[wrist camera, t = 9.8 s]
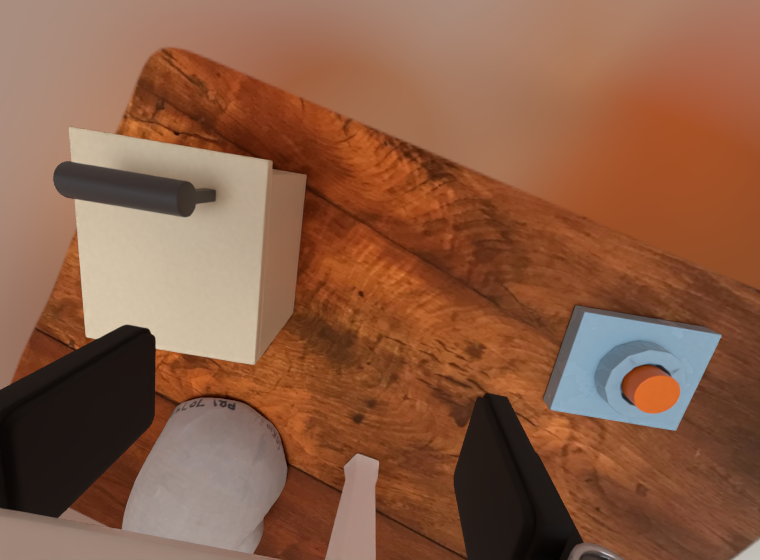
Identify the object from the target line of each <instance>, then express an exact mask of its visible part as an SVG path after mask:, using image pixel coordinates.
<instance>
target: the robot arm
mask: <svg viewBox="0 0 760 560" xmlns="http://www.w3.org/2000/svg"><path fill="white" fill-rule="evenodd" d="M155 352H156V339H155V336H154V335H153V334H151V332H150V330H149V329H148V328H143V327H138V326H133V325H127V324H126V325H123V326H121V327H119V328H117V329H115V330H113V331H111V332H109V333H108V334H106V335H104V336H102V337H100V338H98V339H96V340H94V341H92V342H90V343H89V344H87V345H85V346H83V347H81V348H79V349H77V350H75V351H73V352H71V353H70V354H68V355H66V356H64V357H62V358H60V359H58V360H56V361H54V362H52V363H51V364H49V365H47V366H45V367H43V368H41V369H39V370H37V371H35V372H33V373H32V374H30V375H28V376H26V377H24V378H22V379H20V380H18V381H16V382H14V383H12V384H11V385H9V386H7V387H5V388H3V389H1V390H0V560H281V559H276V558H270V557H265V556H260V555H255V554H249V553H244V552H239V551H233V550H228V549H223V548H217V547H212V546H207V545H201V544H196V543H191V542H185V541H180V540H174V539H169V538H164V537H158V536H153V535H148V534H142V533H137V532H131V531H126V530H120V529H115V528H109V527H104V526H98V525H92V524H87V523H81V522H76V521H70V520H65V519H59V518H58V517H59V516H60V515H61V514H62V513H63V512H64V511H66V510H67V509H68V508H69V507H70V506H71V505H72V504H73V503H74V502H75V501H76V500H77V499H78V498H79V497H80V496H81V495H82V494H83V493H84V492H85V491H86V490H87V489H88V488H89V487H90V486H91V485H92V484H93V483H94V482H95V481H96V480H97V479H98V478H99V477H100V476H101V475H102V474H103V473H104V472H105V471H106V470H107V469H108V468H109V467H110V466H111V465H112V464H113V463H114V462H115V461H116V460H117V459H118V458H119V457H120V456H121V455H122V454H123V453H124V452H125V451H126V450H127V449H128V448H129V447H130V446H131V445H132V444H133V443H134V442H135V441H136V440H137V439H138V438H139V437H140V436H141V435H142V434H143V433H144V432H145V431H146V430H147V429H148V428H149V427H150V425H151V424H152V421H153V419H154V414H155ZM454 489H455V494H456V500H457V505H458V510H459V516H460V521H461V526H462V531H463V537H464V542H465V547H466V553H467V558H468V560H624V559H623V558H622V557H621V556H619V555H617V554H616V553H614V552H612V551H611V550H609V549H607V548H605V547H602V546H600V545H597V544H594V543H585V542H583V540H582V538H581V536H580V534H579V532H578V530H577V528H576V527H575V525H574V523H573V521H572V519H571V517H570V515H569V513H568V511H567V509H566V507H565V505H564V503H563V501H562V499H561V498H560V496H559V494H558V492H557V490H556V488H555V486H554V484H553V482H552V480H551V478H550V476H549V474H548V472H547V471H546V469H545V467H544V465H543V463H542V461H541V459H540V457H539V456H538V454H537V453H536V452H535V451H534V449H533V447H532V445H531V443H530V441H529V439H528V437H527V435H526V433H525V431H524V429H523V427H522V425H521V423H520V421H519V420H518V418H517V416H516V414H515V412H514V410H513V408H512V406H511V404H510V402H509V400H508V398H507V397H505V396H499V395H494V394H489V393H486V394H485V395H484V396H483V398H482V397H478V398H477V400H476V402H475V406H474V409H473V412H472V416H471V419H470V422H469V426H468V429H467V432H466V436H465V439H464V442H463V446H462V449H461V452H460V456H459V459H458V462H457V465H456V469H455V473H454Z"/></svg>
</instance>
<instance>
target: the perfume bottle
mask: <svg viewBox="0 0 760 560" xmlns="http://www.w3.org/2000/svg"><path fill="white" fill-rule="evenodd" d="M378 469H379V461H378V460H375V459H373V458H370V457H367V456H364V455H361V454H356V455H355V456H354V457H353V458H352V459H351V460H350V461H349V462H348V463H347V464H346V465H345V466H344V473H345V483H344V487H343V491H342V495H341V499H340V503H339V507H338V511H337V515H336V519H335V523H334V527H333V531H332V535H331V538H330V542H329V546H328V550H327V554H326V558H325V560H376V548H375V484H376V481H377V478H378Z"/></svg>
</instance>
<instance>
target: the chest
mask: <svg viewBox="0 0 760 560" xmlns="http://www.w3.org/2000/svg"><path fill="white" fill-rule="evenodd" d="M306 179H307V175H305V174H300V173H294V172H288V171H282V170H276V169H272V178H271V192H270V205H269V219H268V233H267V247H266V261H265V275H264V289H263V302H262V316H261V330H260V344H259V358H260V357H261V356H262V354H263V353H264V352H265V350H266V349H267V348H268V346H269V345H270V344H271V342H272V341H273V339H274V338H275V337H276V335H277V334H278V333H279V331H280V330H281V329H282V327H283V326H284V325H285V323H286V322H287V321H288V319H289V318H290V317H291V315H292V314H293V311H294V301H295V291H296V280H297V270H298V260H299V250H300V240H301V230H302V219H303V209H304V199H305V189H306ZM259 358H258V359H259Z"/></svg>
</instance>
